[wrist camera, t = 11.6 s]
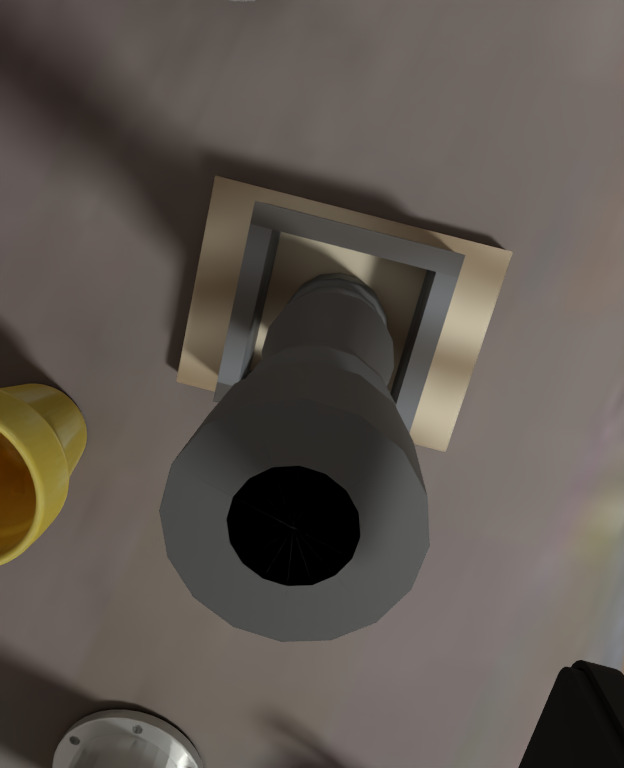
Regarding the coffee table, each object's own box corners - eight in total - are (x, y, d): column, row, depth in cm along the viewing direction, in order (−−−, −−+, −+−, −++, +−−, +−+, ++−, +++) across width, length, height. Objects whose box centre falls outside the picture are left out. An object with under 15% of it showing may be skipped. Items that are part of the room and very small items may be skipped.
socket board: (442, 443, 39) (455, 477, 34) (183, 375, 40) (155, 399, 34) (506, 250, 36) (532, 255, 30) (221, 177, 36) (197, 169, 31)
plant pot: (92, 517, 43) (17, 599, 34) (-41, 464, 43) (-154, 533, 33) (132, 392, 40) (63, 443, 31) (-10, 335, 40) (-124, 369, 30)
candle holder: (267, 342, 37) (102, 572, 13) (314, 253, 35) (225, 327, 11) (353, 389, 37) (349, 696, 13) (404, 303, 36) (504, 479, 12)
